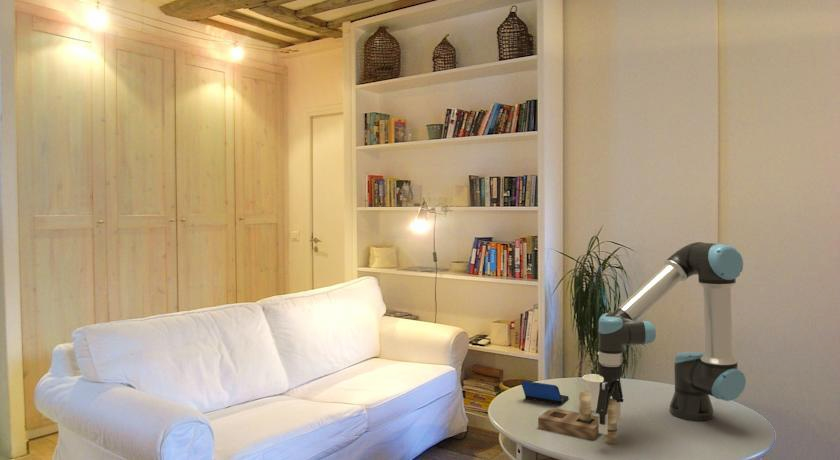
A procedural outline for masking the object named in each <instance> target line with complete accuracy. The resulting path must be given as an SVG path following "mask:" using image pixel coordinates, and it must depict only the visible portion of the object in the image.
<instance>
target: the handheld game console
mask: <svg viewBox="0 0 840 460" xmlns="http://www.w3.org/2000/svg"><path fill="white" fill-rule="evenodd" d="M520 383H521V387H522V390H523V393H524V400H527V401H533V402H539V403H540V402H542V403H547V404H552V405H555V406H556V405H557V406H562V405H563V404H565V403H566V402H567V401H568V400H569V396H568V395H562V394H561V392H560V390H559V387H558V386H557V385H555V384H549V383H541V382H534V381H528V380H522V381H521V382H520Z"/></svg>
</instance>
